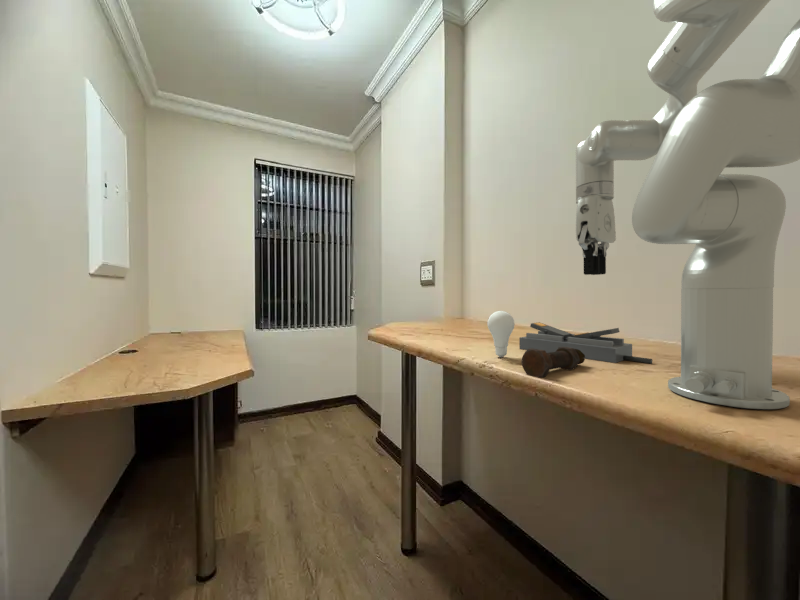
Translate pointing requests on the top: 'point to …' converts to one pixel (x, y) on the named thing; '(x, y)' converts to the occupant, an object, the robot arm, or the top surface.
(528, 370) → the bolt
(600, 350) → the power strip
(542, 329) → the rocker outer
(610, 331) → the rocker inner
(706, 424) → the top surface
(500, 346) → the lightbulb
